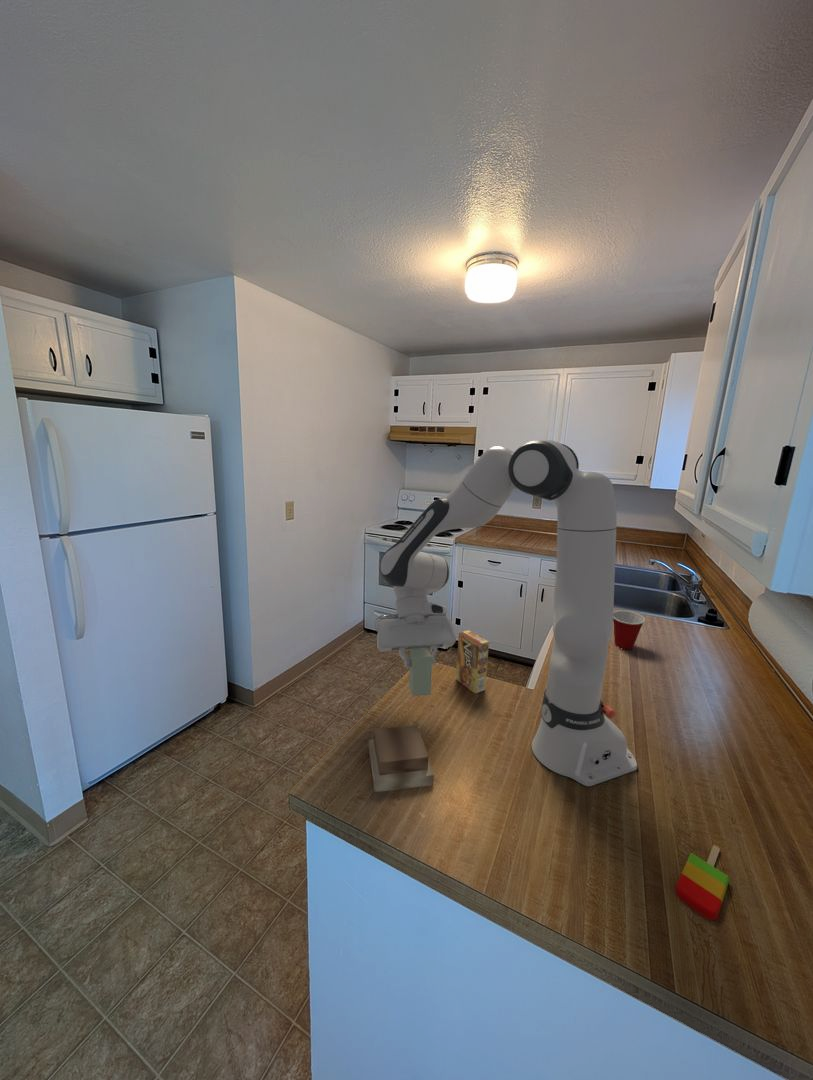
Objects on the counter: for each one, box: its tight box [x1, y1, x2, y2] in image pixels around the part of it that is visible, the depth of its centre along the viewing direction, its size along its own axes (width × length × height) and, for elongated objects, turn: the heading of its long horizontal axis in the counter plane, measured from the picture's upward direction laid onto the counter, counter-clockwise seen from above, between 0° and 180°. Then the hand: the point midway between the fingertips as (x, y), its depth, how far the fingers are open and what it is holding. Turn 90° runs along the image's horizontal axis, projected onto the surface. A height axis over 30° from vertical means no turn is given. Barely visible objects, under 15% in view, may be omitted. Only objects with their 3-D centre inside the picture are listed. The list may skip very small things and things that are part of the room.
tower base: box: [368, 739, 435, 793], centre depth 88 cm, size 12×12×3 cm
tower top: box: [373, 724, 429, 775], centre depth 87 cm, size 10×10×3 cm
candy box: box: [455, 629, 490, 695], centre depth 118 cm, size 9×4×15 cm, turn 34°
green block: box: [408, 648, 433, 697], centre depth 101 cm, size 4×4×10 cm
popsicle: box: [674, 844, 730, 921], centre depth 67 cm, size 6×15×2 cm, turn 132°
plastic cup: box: [613, 610, 646, 651], centre depth 147 cm, size 11×11×12 cm
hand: (420, 665), depth 101 cm, fingers closed on green block, 4 cm apart
